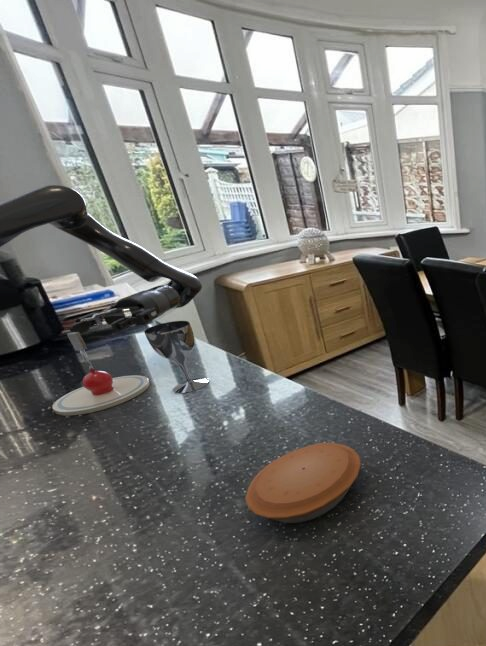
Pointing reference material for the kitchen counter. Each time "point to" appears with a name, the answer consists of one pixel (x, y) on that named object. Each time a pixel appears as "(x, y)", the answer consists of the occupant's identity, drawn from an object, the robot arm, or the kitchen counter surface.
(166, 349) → the wine glass
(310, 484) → the pie
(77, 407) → the plate
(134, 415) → the kitchen counter surface
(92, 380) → the red bulb with handle
